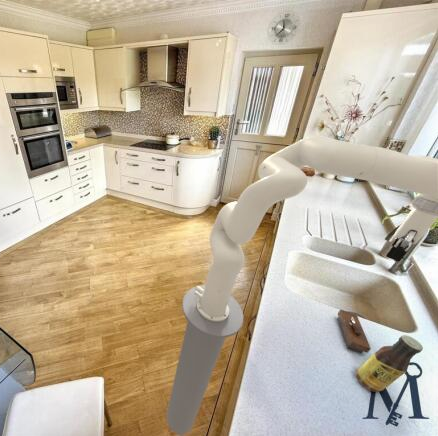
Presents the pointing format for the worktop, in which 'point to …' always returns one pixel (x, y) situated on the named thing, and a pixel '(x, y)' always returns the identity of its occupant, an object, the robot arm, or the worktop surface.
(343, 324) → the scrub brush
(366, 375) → the sauce bottle
